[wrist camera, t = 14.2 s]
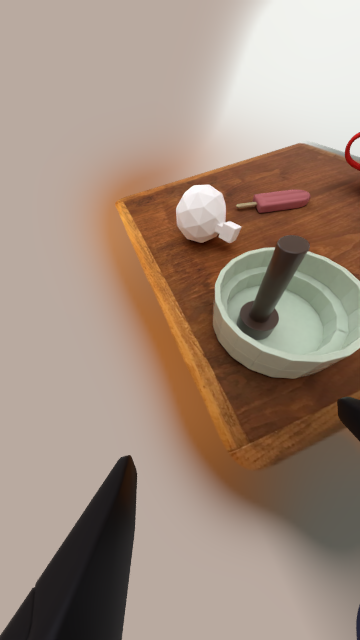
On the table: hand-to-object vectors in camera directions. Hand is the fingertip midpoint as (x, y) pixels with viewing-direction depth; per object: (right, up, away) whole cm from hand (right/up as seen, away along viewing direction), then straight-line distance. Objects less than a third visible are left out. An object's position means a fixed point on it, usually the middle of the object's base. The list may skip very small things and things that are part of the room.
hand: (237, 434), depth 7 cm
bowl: (+10, +5, +17) cm, 20 cm away
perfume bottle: (+2, +20, +28) cm, 34 cm away
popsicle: (+17, +30, +32) cm, 47 cm away
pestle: (+7, +4, +16) cm, 18 cm away
